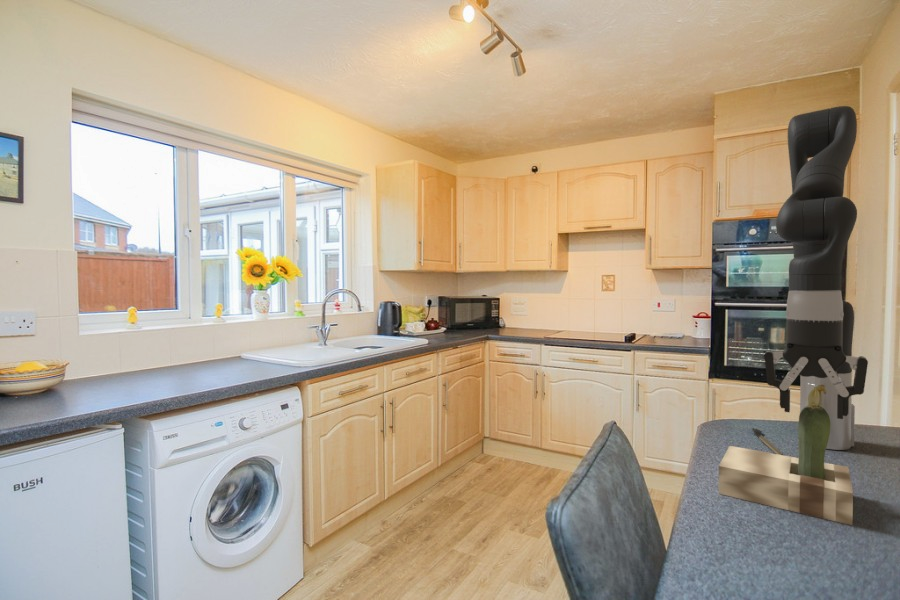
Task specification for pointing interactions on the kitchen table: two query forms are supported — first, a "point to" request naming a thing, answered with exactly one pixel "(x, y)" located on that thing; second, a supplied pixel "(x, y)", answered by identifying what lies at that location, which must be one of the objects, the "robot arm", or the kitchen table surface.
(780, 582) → the kitchen table surface
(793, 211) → the robot arm
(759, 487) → the wooden block with hole
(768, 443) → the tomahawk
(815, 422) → the vegetable
